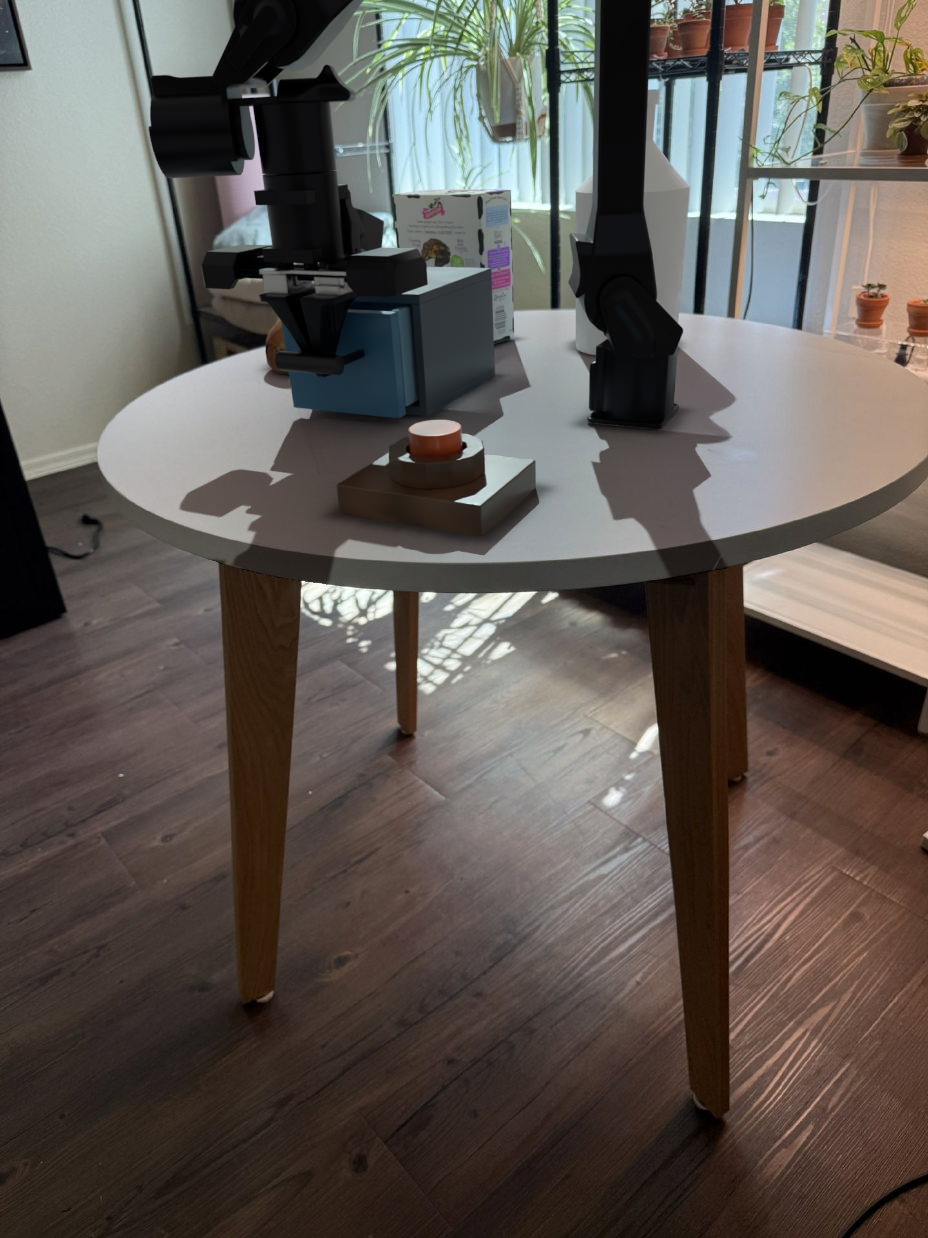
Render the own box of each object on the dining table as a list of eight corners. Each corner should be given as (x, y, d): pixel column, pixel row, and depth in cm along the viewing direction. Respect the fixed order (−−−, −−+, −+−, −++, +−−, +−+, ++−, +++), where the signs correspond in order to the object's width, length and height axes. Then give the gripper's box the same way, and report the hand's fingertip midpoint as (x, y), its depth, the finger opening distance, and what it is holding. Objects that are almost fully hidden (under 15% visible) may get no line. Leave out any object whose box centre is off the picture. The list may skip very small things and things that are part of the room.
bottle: (569, 336, 106) (572, 95, 93) (669, 332, 105) (685, 88, 93) (577, 359, 95) (581, 92, 83) (687, 355, 95) (708, 85, 82)
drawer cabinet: (427, 416, 80) (418, 294, 75) (314, 404, 85) (298, 289, 80) (495, 376, 91) (491, 267, 86) (391, 368, 96) (381, 265, 91)
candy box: (516, 338, 106) (513, 187, 98) (485, 348, 102) (479, 192, 94) (434, 327, 114) (425, 187, 106) (402, 336, 110) (390, 191, 102)
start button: (471, 446, 61) (470, 422, 60) (447, 463, 58) (445, 438, 57) (426, 441, 62) (424, 417, 61) (400, 457, 59) (398, 432, 59)
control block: (536, 488, 63) (535, 434, 61) (482, 537, 56) (479, 478, 54) (404, 471, 68) (399, 420, 66) (339, 514, 61) (332, 459, 59)
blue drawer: (368, 435, 73) (357, 326, 68) (259, 423, 78) (242, 320, 73) (467, 379, 87) (463, 286, 83) (370, 371, 92) (361, 282, 87)
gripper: (454, 163, 70) (463, 361, 78) (268, 168, 78) (292, 347, 85) (381, 173, 61) (399, 394, 69) (180, 177, 69) (216, 376, 77)
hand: (324, 375), depth 75 cm, fingers closed, pressing on blue drawer
